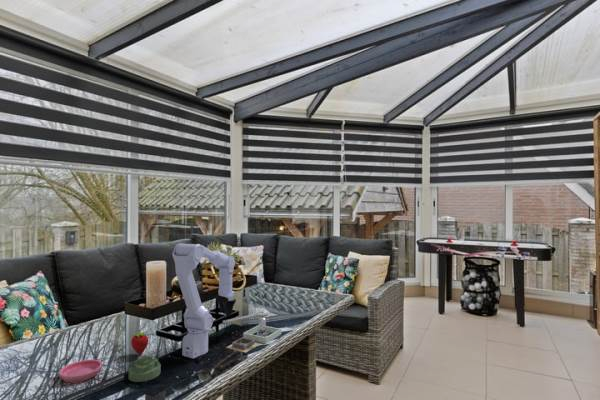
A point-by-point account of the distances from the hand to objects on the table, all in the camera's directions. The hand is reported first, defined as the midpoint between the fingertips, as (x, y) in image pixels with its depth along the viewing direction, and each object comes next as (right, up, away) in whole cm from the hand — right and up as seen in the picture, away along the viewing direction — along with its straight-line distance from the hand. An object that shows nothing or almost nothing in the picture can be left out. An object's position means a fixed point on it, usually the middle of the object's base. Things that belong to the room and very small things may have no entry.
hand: (225, 313), depth 149 cm
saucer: (-42, -10, -35) cm, 55 cm away
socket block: (+10, -10, -11) cm, 18 cm away
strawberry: (-29, -10, -18) cm, 36 cm away
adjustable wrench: (+5, -12, +26) cm, 29 cm away
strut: (+16, -10, -1) cm, 19 cm away
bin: (+17, -10, -1) cm, 20 cm away
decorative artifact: (-20, -10, -34) cm, 41 cm away
